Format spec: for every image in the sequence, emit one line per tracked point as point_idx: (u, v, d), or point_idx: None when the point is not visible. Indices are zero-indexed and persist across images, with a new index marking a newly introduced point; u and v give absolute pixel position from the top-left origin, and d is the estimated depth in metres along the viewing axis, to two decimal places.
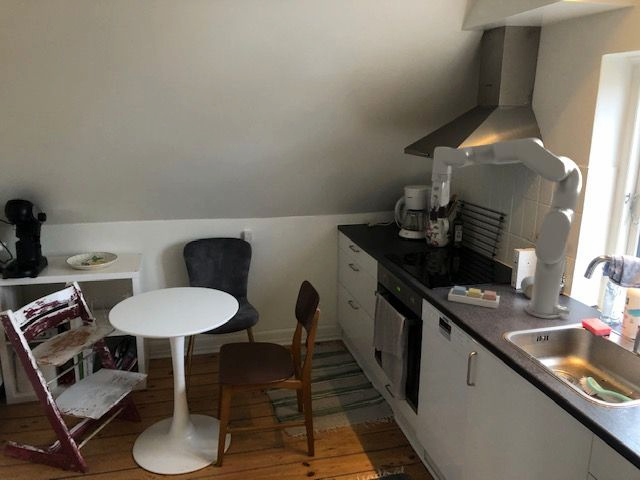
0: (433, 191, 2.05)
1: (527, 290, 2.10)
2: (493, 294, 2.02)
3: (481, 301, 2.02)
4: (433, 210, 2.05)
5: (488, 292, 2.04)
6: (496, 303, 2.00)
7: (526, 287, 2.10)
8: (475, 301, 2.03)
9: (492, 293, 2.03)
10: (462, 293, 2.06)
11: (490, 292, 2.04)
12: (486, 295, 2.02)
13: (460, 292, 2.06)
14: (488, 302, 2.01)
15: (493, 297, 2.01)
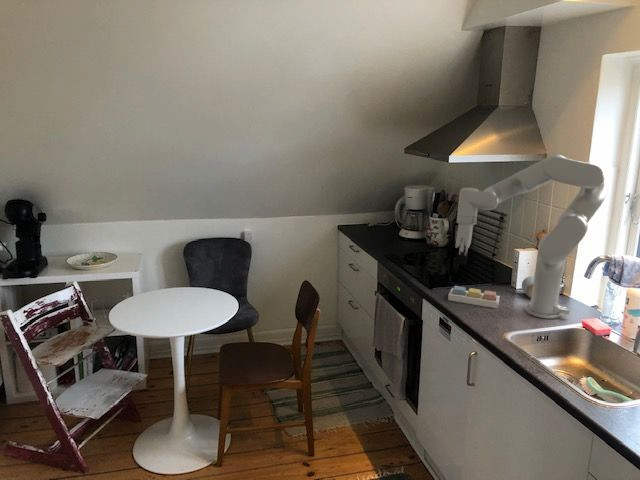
0: None
1: (528, 290, 2.10)
2: (493, 294, 2.02)
3: (481, 301, 2.02)
4: None
5: (488, 292, 2.04)
6: (496, 303, 2.00)
7: (527, 287, 2.10)
8: (475, 301, 2.03)
9: (492, 293, 2.03)
10: (462, 293, 2.06)
11: (490, 292, 2.04)
12: (486, 295, 2.02)
13: (460, 292, 2.06)
14: (488, 302, 2.01)
15: (493, 297, 2.01)
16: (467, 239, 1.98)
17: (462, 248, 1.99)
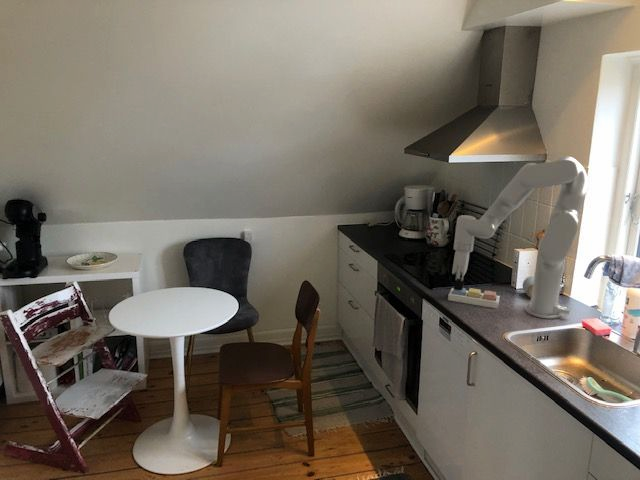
0: None
1: (529, 290, 2.10)
2: (493, 294, 2.02)
3: (481, 301, 2.02)
4: None
5: (488, 292, 2.04)
6: (496, 303, 2.00)
7: (528, 287, 2.10)
8: (475, 301, 2.03)
9: (492, 293, 2.03)
10: (462, 294, 2.06)
11: (490, 292, 2.04)
12: (486, 295, 2.02)
13: (460, 293, 2.06)
14: (488, 302, 2.01)
15: (493, 297, 2.01)
16: (463, 266, 2.01)
17: (458, 275, 2.02)
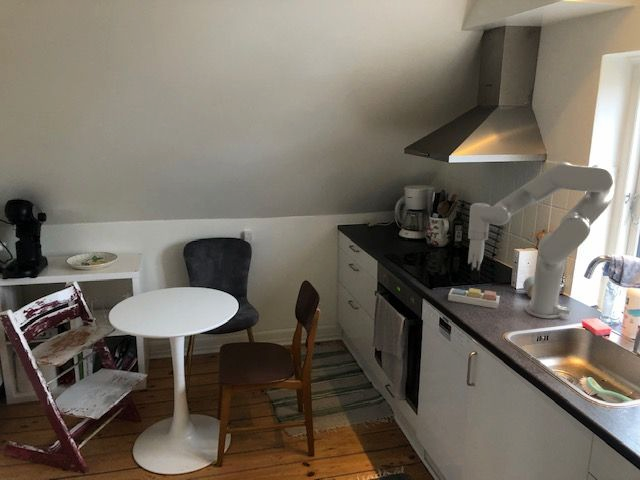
0: None
1: (530, 290, 2.10)
2: (493, 294, 2.02)
3: (481, 301, 2.02)
4: None
5: (488, 292, 2.04)
6: (496, 303, 2.00)
7: (529, 287, 2.10)
8: (475, 301, 2.03)
9: (492, 293, 2.03)
10: None
11: (490, 292, 2.04)
12: (486, 295, 2.02)
13: None
14: (488, 302, 2.01)
15: (493, 297, 2.01)
16: (479, 254, 1.97)
17: (475, 264, 1.98)
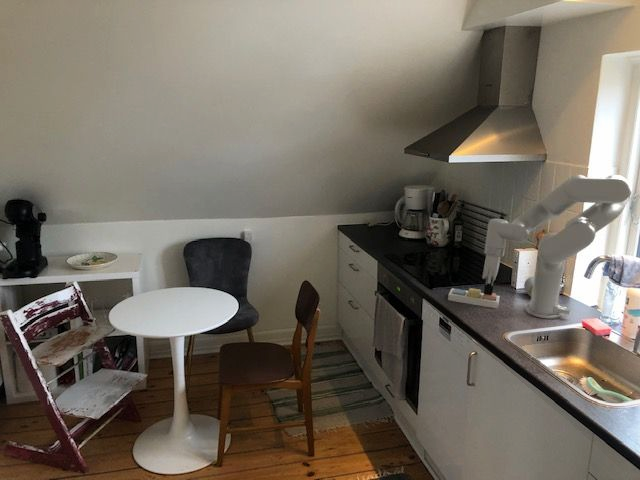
0: None
1: (531, 290, 2.09)
2: (493, 295, 2.02)
3: (481, 301, 2.02)
4: None
5: None
6: (496, 303, 2.00)
7: (530, 287, 2.10)
8: (475, 301, 2.03)
9: (492, 294, 2.03)
10: None
11: None
12: (485, 296, 2.02)
13: None
14: (488, 302, 2.01)
15: (493, 298, 2.01)
16: (495, 271, 1.96)
17: (489, 280, 1.97)
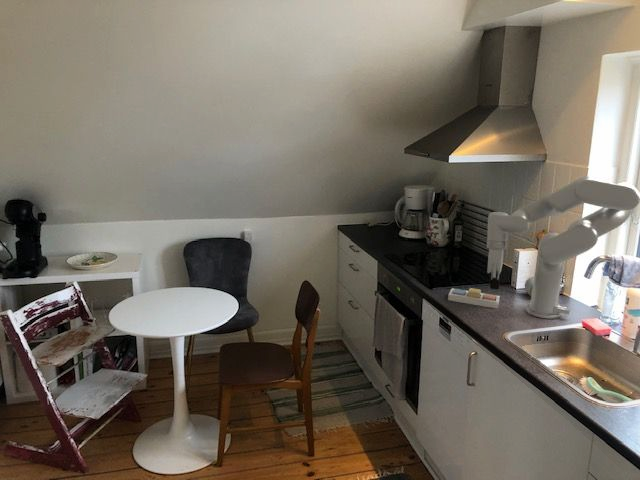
0: None
1: (531, 290, 2.09)
2: (493, 297, 2.02)
3: (481, 301, 2.02)
4: None
5: (488, 295, 2.04)
6: (496, 303, 2.00)
7: (530, 287, 2.10)
8: (475, 301, 2.03)
9: (492, 296, 2.04)
10: None
11: (490, 295, 2.05)
12: (485, 298, 2.03)
13: None
14: (488, 302, 2.01)
15: (493, 300, 2.02)
16: (499, 264, 1.95)
17: (494, 274, 1.96)
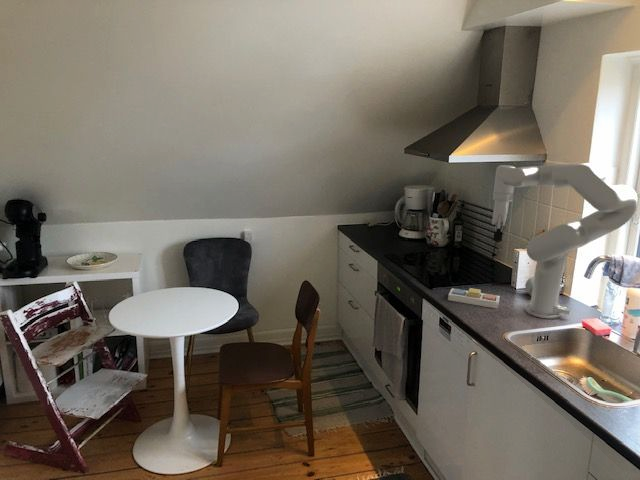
0: None
1: None
2: (493, 297, 2.02)
3: (481, 301, 2.02)
4: None
5: (488, 295, 2.04)
6: (496, 303, 2.00)
7: (531, 287, 2.10)
8: (475, 301, 2.03)
9: (492, 296, 2.04)
10: None
11: (490, 295, 2.05)
12: (485, 298, 2.03)
13: None
14: (488, 302, 2.01)
15: (493, 300, 2.02)
16: (504, 215, 2.01)
17: (499, 225, 2.02)
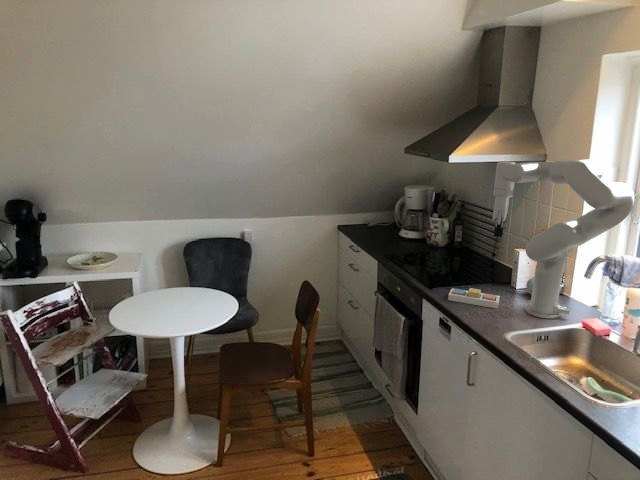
0: None
1: None
2: (493, 297, 2.02)
3: (481, 301, 2.02)
4: None
5: (488, 295, 2.04)
6: (496, 303, 2.00)
7: (532, 287, 2.10)
8: (475, 301, 2.03)
9: (492, 296, 2.04)
10: None
11: (490, 295, 2.05)
12: (485, 298, 2.03)
13: None
14: (488, 302, 2.01)
15: (493, 300, 2.02)
16: (504, 211, 2.02)
17: (499, 221, 2.03)
